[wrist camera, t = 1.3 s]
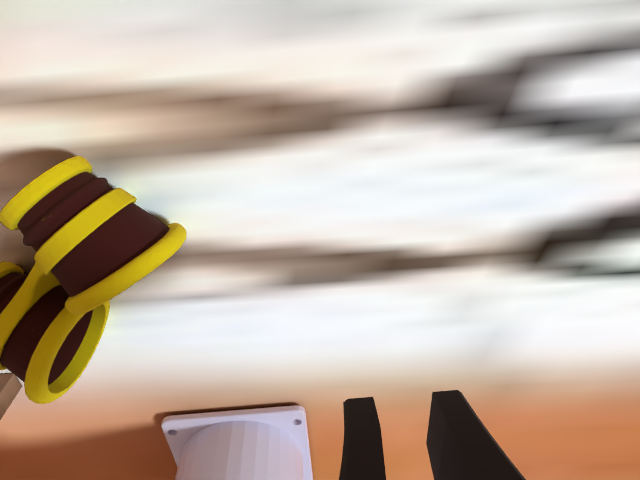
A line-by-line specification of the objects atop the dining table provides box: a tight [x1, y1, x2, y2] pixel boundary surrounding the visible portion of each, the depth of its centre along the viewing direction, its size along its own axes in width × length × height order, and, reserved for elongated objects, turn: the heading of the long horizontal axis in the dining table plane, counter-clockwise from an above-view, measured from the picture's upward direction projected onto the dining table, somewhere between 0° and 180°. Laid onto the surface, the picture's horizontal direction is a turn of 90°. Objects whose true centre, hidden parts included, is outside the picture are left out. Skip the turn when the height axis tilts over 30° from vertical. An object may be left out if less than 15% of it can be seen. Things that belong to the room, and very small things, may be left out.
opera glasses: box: [0, 156, 186, 404], centre depth 17 cm, size 10×5×5 cm, turn 140°
